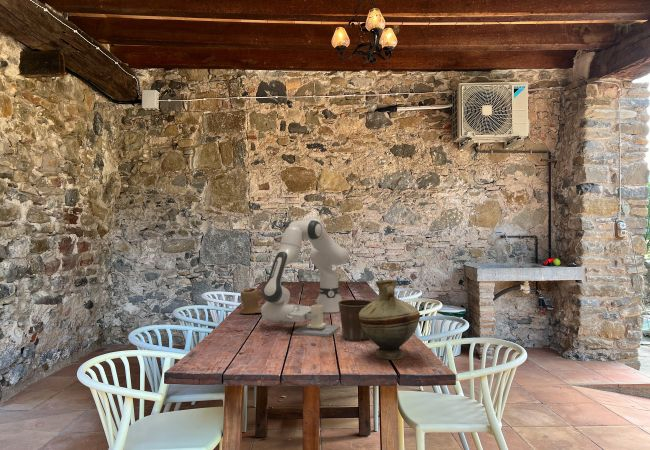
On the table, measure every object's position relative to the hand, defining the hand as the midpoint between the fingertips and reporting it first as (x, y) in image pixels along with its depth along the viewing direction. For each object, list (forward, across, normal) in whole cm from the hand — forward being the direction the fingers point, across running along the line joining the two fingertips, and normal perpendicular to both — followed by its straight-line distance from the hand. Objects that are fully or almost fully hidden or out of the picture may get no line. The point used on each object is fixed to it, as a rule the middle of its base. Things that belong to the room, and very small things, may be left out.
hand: (318, 315), depth 210 cm
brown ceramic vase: (+40, -30, +8) cm, 51 cm away
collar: (-1, 0, +6) cm, 6 cm away
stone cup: (-52, +31, +8) cm, 61 cm away
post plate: (-1, 0, +8) cm, 8 cm away
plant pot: (+20, -7, +8) cm, 23 cm away
